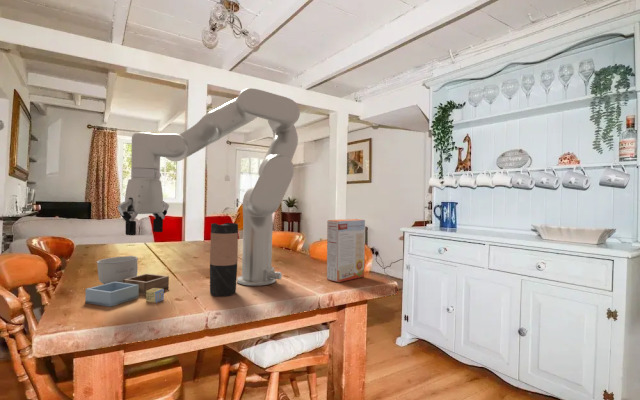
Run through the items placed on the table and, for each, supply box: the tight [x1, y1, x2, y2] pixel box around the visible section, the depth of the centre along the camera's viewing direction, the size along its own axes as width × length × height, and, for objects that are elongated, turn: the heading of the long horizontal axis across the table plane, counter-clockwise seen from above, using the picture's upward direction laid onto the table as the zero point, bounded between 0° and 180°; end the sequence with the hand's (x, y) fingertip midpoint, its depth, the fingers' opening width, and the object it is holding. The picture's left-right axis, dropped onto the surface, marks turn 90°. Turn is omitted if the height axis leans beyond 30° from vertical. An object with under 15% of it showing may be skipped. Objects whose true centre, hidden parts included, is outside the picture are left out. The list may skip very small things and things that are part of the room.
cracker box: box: [326, 218, 366, 283], centre depth 120 cm, size 14×6×21 cm, turn 133°
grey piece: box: [96, 255, 139, 285], centre depth 106 cm, size 14×11×8 cm
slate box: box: [84, 282, 139, 308], centre depth 89 cm, size 8×8×4 cm
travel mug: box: [209, 222, 239, 298], centre depth 98 cm, size 8×8×20 cm
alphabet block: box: [145, 288, 165, 304], centre depth 90 cm, size 3×3×3 cm
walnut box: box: [123, 273, 170, 296], centre depth 99 cm, size 8×8×4 cm
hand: (144, 233), depth 100 cm, fingers open, 9 cm apart
